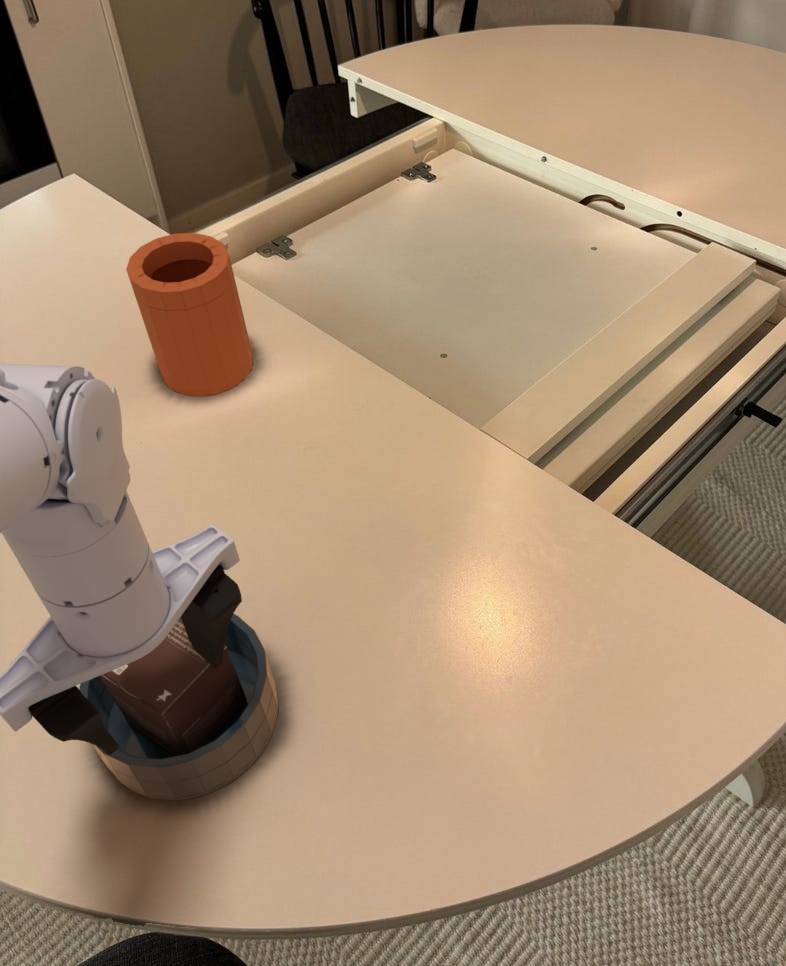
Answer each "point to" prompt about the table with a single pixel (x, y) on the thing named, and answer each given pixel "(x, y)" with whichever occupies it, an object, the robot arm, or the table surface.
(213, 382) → the jar
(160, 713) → the box
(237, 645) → the bowl
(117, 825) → the table surface
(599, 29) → the table surface
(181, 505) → the table surface
